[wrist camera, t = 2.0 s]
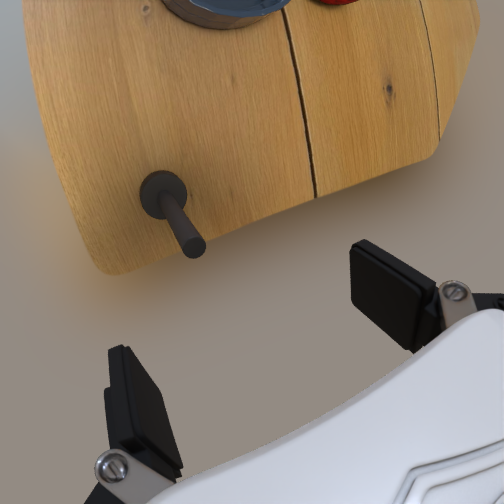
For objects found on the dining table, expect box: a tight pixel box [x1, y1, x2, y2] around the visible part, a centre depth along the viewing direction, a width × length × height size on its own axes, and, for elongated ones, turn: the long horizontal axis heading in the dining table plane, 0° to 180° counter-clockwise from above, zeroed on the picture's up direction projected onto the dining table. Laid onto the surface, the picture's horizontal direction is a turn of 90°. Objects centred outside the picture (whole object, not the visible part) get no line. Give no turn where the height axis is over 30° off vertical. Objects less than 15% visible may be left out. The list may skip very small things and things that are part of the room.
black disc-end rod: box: [140, 170, 206, 259], centre depth 24 cm, size 4×4×14 cm
